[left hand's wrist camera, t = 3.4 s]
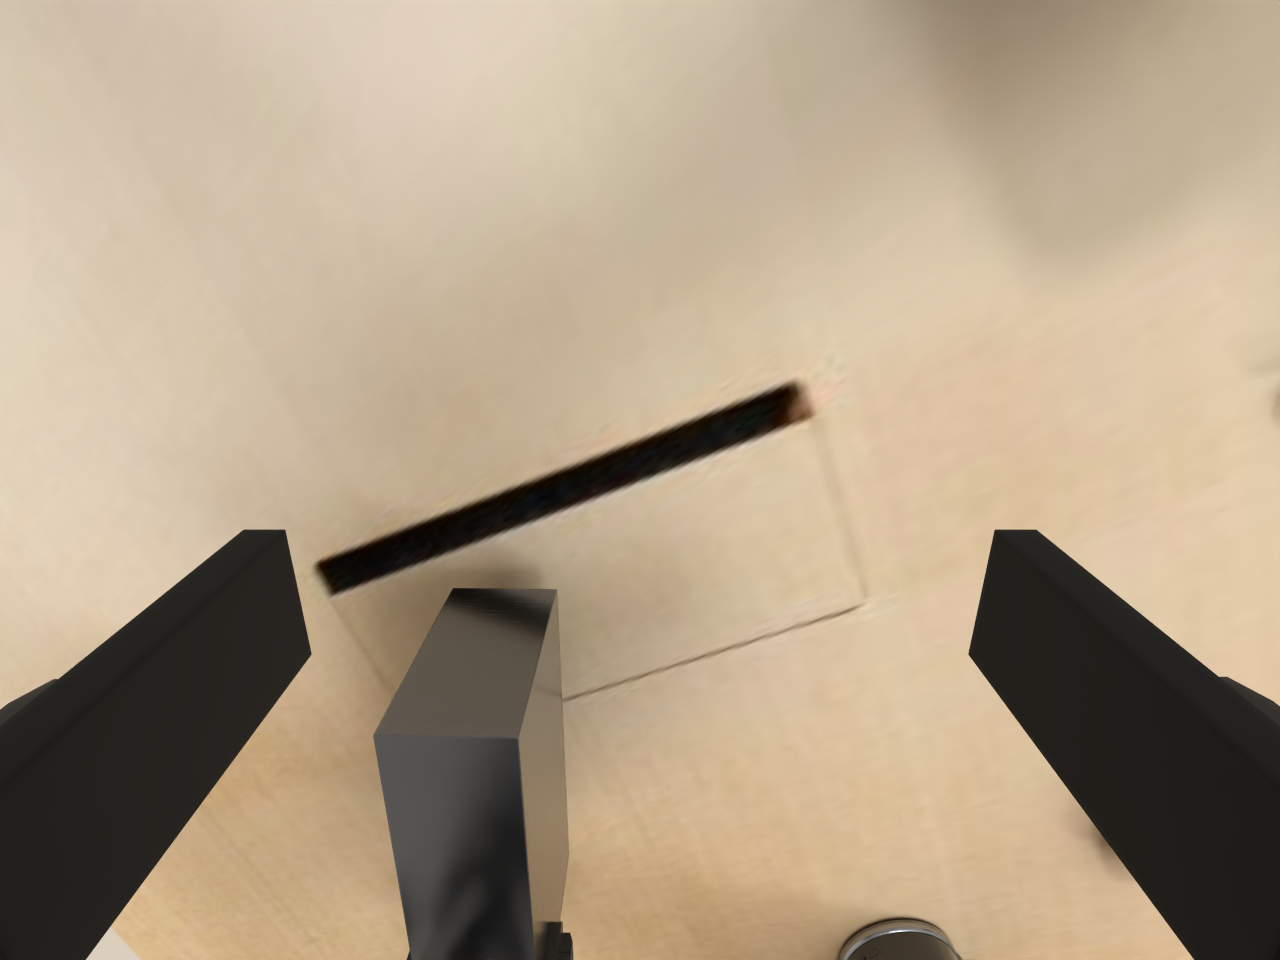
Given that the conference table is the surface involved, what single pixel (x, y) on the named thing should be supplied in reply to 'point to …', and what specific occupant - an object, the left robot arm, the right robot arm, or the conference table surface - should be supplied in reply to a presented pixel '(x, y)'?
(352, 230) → the conference table surface
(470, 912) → the box
